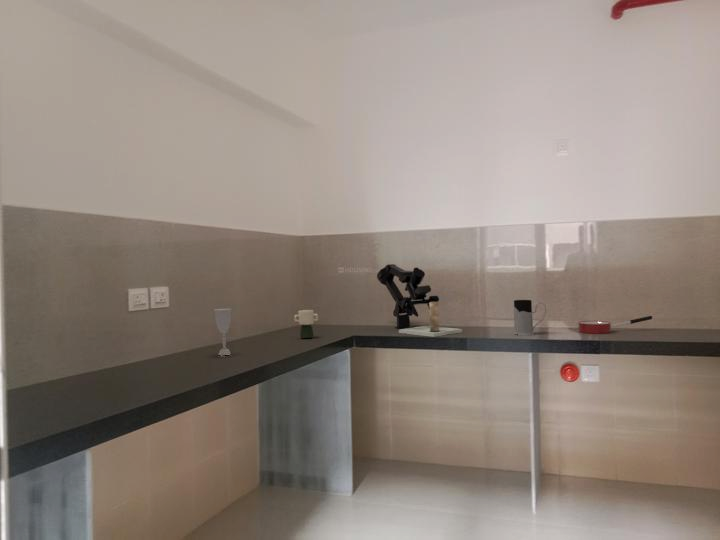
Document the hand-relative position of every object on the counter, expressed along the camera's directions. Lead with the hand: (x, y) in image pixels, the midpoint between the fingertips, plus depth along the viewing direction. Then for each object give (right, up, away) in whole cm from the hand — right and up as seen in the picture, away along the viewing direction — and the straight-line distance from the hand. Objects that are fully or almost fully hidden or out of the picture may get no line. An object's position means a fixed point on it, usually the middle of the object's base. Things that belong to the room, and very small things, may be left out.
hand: (426, 315), depth 251 cm
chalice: (-84, -12, -44) cm, 96 cm away
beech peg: (+3, -8, -7) cm, 11 cm away
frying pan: (+82, -6, -16) cm, 83 cm away
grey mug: (+44, -7, -16) cm, 47 cm away
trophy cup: (-56, -11, -3) cm, 57 cm away
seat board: (+2, -8, +1) cm, 8 cm away
